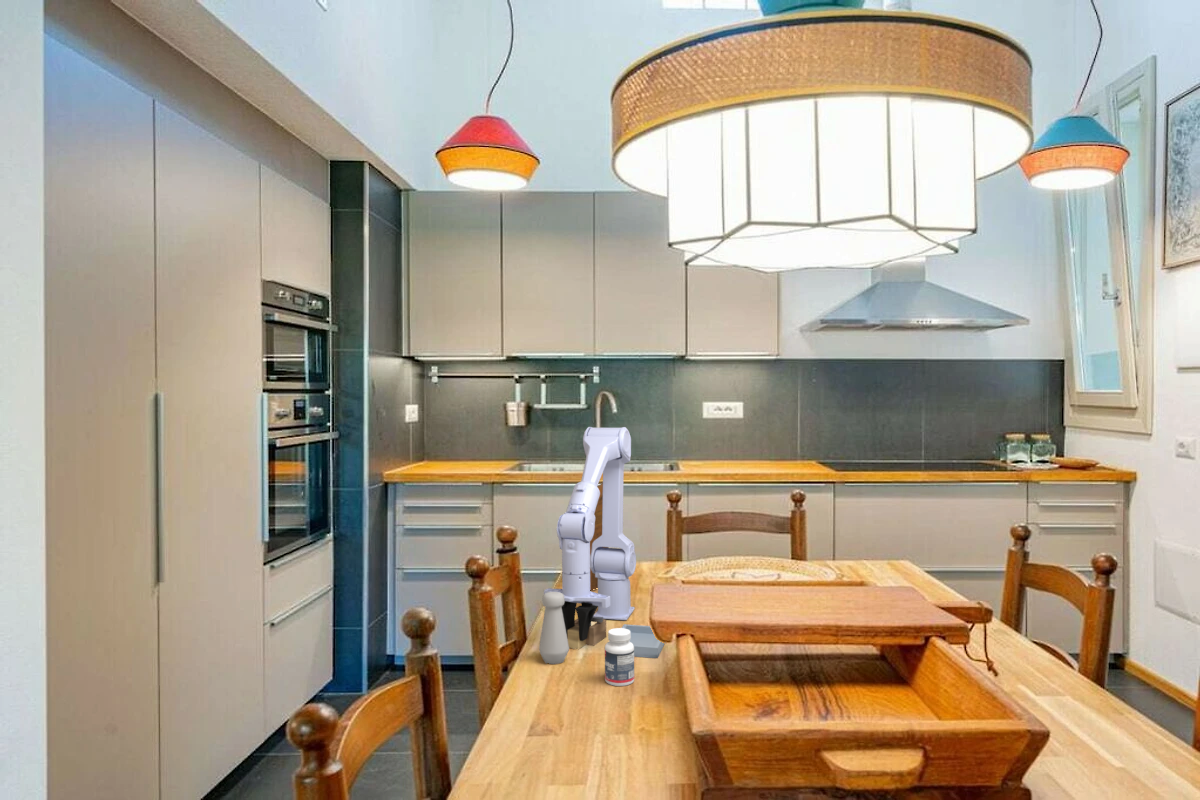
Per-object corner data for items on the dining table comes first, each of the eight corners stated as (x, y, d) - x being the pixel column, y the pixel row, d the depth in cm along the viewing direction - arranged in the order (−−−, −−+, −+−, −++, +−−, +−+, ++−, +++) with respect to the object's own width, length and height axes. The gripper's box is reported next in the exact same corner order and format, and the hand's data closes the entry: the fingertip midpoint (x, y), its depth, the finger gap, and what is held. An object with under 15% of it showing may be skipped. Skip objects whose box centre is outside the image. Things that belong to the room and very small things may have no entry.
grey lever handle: (582, 637, 152) (582, 614, 152) (604, 638, 151) (604, 615, 151) (579, 641, 150) (579, 618, 150) (601, 642, 149) (600, 619, 149)
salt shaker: (571, 655, 141) (570, 589, 141) (567, 666, 136) (566, 597, 136) (541, 654, 142) (541, 588, 142) (536, 665, 136) (535, 596, 136)
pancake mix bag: (619, 577, 204) (618, 478, 204) (599, 594, 186) (598, 485, 186) (596, 575, 206) (595, 477, 206) (574, 592, 188) (573, 485, 188)
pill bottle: (600, 677, 130) (600, 628, 130) (627, 673, 132) (626, 625, 132) (611, 688, 125) (610, 637, 125) (639, 684, 127) (638, 633, 127)
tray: (624, 633, 154) (624, 624, 154) (668, 636, 152) (667, 627, 152) (610, 654, 142) (609, 644, 142) (657, 658, 140) (657, 648, 139)
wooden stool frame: (581, 633, 155) (581, 616, 155) (606, 636, 152) (606, 619, 152) (559, 646, 147) (559, 629, 147) (586, 650, 144) (585, 632, 144)
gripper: (535, 572, 147) (536, 638, 147) (598, 579, 140) (599, 649, 140) (553, 565, 153) (554, 628, 153) (614, 572, 146) (615, 638, 146)
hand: (576, 638), depth 147 cm, fingers closed on wooden stool frame, 2 cm apart
